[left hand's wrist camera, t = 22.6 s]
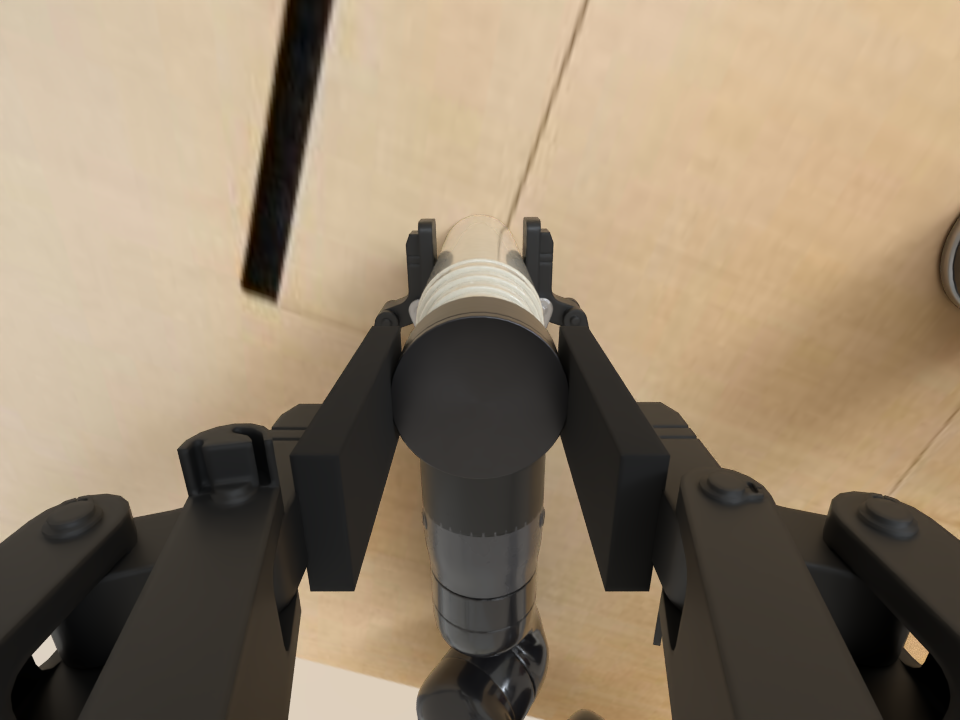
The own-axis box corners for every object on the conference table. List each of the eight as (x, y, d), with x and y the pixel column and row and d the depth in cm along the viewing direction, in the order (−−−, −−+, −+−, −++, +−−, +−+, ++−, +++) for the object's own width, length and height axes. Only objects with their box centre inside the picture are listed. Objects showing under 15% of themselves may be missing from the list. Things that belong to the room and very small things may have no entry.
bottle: (530, 242, 33) (606, 368, 13) (489, 300, 34) (501, 494, 14) (470, 199, 32) (454, 264, 12) (430, 261, 33) (356, 411, 13)
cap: (561, 437, 15) (571, 473, 13) (411, 447, 15) (402, 485, 13) (557, 289, 13) (568, 308, 12) (389, 302, 14) (376, 323, 12)
